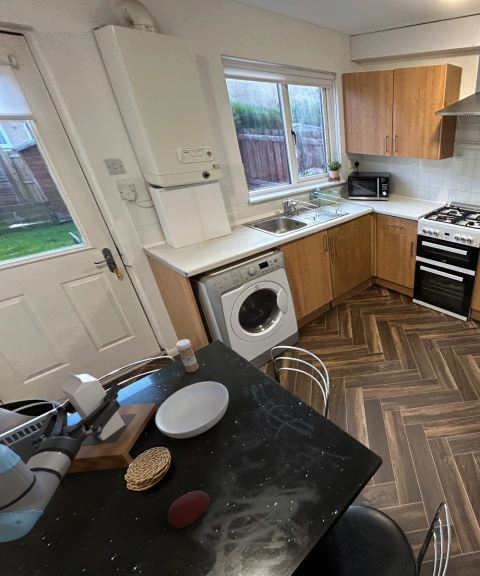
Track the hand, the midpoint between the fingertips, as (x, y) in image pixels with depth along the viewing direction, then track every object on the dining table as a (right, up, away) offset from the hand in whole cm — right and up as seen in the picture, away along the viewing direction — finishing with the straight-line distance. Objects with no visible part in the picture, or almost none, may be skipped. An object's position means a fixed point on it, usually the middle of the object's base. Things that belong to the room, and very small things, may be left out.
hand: (99, 389), depth 92 cm
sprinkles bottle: (+8, -3, +33) cm, 34 cm away
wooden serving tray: (+1, -18, +5) cm, 19 cm away
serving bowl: (+22, -14, +12) cm, 29 cm away
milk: (+1, -13, +2) cm, 13 cm away
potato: (+36, -28, -13) cm, 47 cm away
